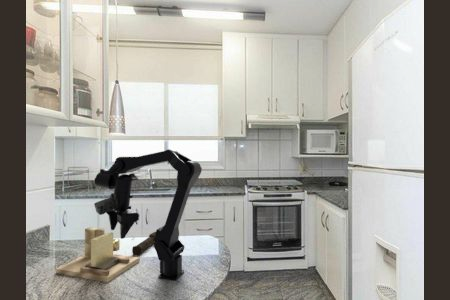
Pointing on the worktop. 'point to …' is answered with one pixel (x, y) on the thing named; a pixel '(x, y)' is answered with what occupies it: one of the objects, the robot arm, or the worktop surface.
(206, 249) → the worktop surface
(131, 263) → the board
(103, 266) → the tan upright block
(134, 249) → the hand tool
